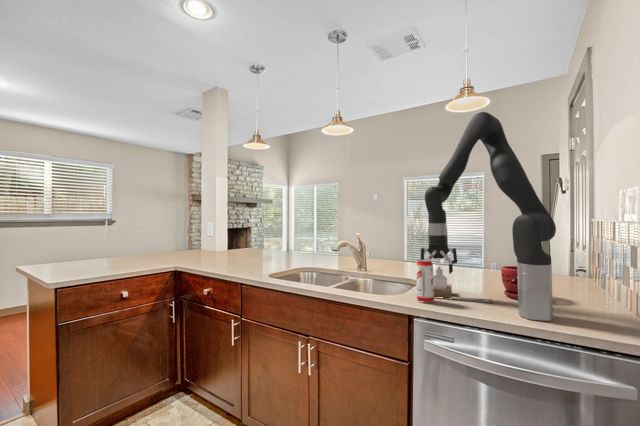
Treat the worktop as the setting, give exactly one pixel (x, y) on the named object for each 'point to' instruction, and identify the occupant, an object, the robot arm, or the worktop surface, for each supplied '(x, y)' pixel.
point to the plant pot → (510, 281)
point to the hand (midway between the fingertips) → (439, 273)
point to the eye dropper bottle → (439, 280)
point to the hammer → (447, 294)
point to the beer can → (425, 280)
